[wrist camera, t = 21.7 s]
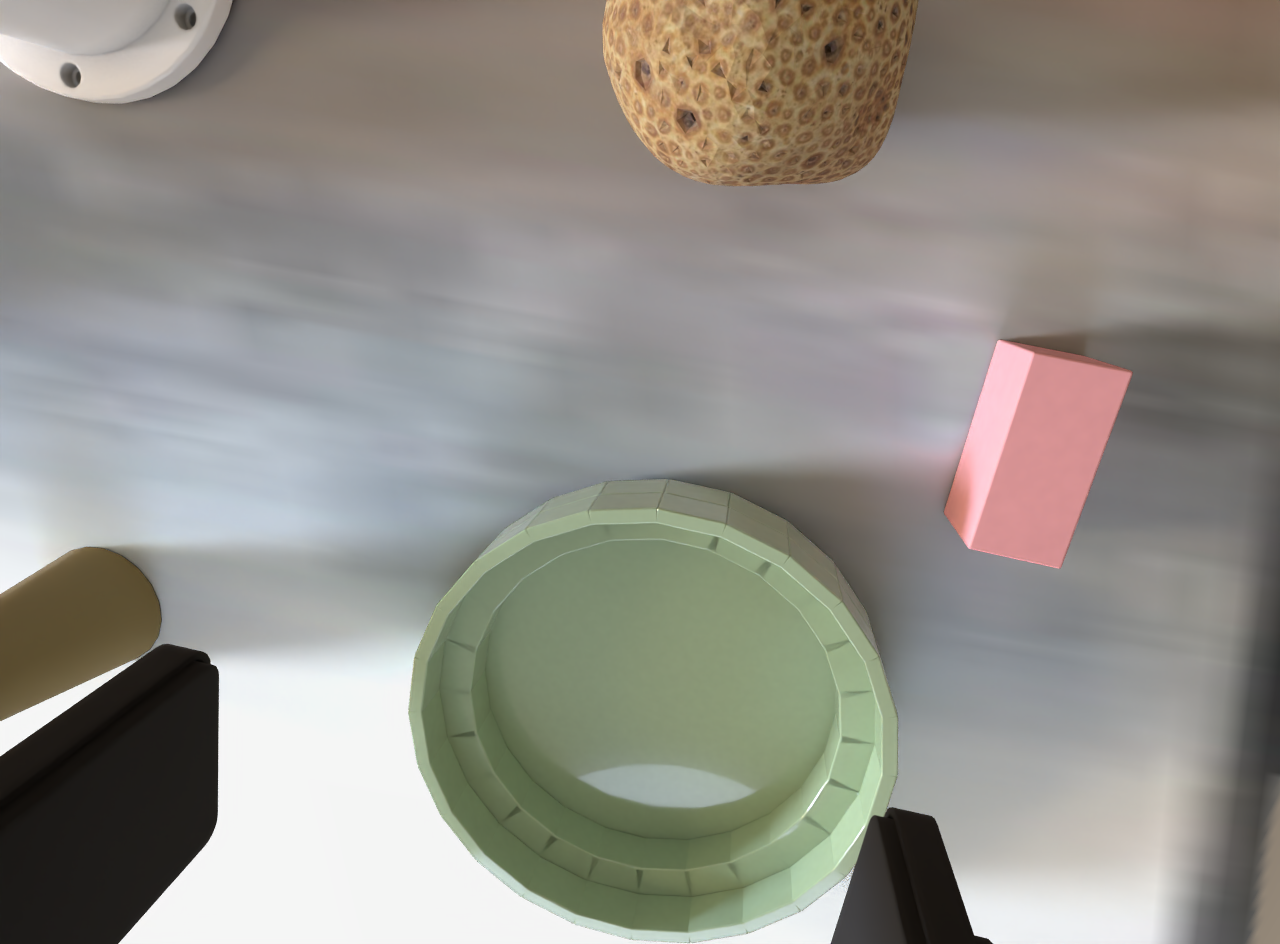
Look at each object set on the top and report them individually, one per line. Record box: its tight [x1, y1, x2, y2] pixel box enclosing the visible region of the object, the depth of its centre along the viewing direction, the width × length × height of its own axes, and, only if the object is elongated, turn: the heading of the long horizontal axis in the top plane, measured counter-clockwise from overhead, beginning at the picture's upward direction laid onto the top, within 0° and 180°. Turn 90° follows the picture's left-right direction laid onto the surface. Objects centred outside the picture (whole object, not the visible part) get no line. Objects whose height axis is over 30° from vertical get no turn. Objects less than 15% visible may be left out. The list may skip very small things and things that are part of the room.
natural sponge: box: [603, 0, 918, 186], centre depth 23 cm, size 9×9×10 cm
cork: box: [0, 547, 161, 721], centre depth 33 cm, size 6×6×11 cm
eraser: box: [944, 340, 1133, 568], centre depth 28 cm, size 7×3×4 cm, turn 169°
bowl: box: [408, 479, 898, 943], centre depth 33 cm, size 19×19×4 cm
